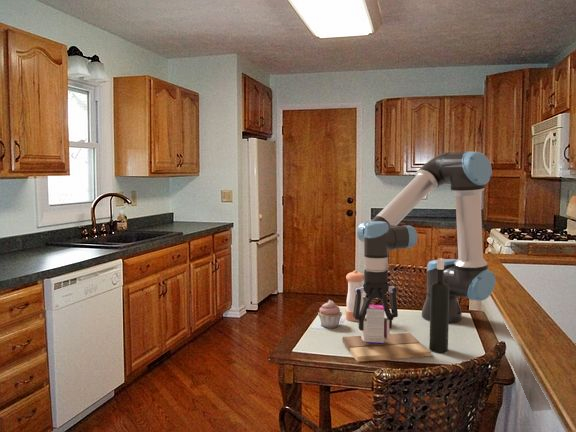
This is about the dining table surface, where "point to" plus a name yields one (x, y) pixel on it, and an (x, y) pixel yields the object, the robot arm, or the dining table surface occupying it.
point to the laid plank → (389, 352)
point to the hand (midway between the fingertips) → (375, 339)
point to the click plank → (393, 340)
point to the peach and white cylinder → (353, 293)
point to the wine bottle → (439, 312)
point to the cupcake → (330, 315)
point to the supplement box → (375, 324)
